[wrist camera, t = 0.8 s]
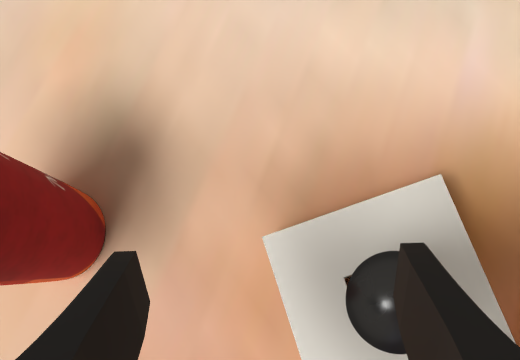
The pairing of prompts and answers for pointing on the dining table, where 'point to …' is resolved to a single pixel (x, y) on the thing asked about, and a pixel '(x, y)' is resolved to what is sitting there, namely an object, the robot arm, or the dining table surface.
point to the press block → (358, 250)
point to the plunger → (375, 302)
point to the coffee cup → (44, 226)
